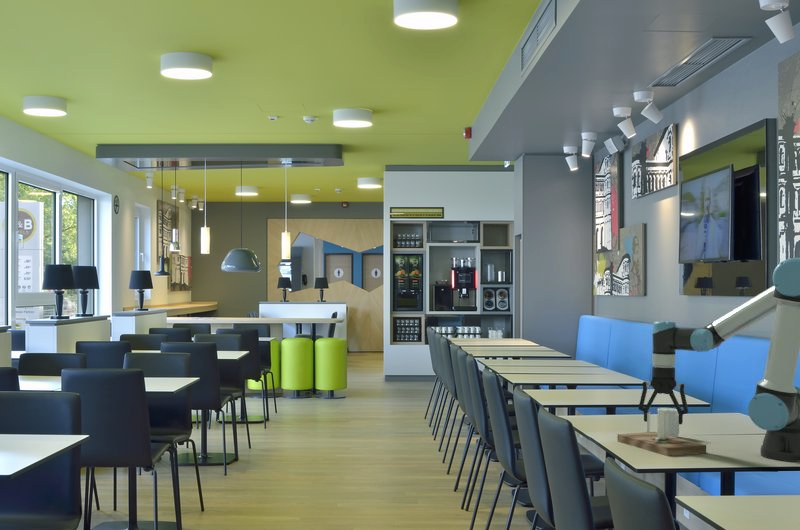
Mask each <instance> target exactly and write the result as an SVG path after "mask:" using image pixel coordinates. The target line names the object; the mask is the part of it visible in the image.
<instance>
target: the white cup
mask: <svg viewBox="0 0 800 530" xmlns="http://www.w3.org/2000/svg"><path fill="white" fill-rule="evenodd" d="M660 409H669V427H668V436H672V437H676V438H679V434H676V415H677V414H678V411H677V409H676V407H658V408H657V411H658V410H660Z"/></svg>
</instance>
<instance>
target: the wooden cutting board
mask: <svg viewBox="0 0 800 530" xmlns="http://www.w3.org/2000/svg"><path fill="white" fill-rule="evenodd" d="M656 438H657V432H656V431H650V432H647V431H646V432H630V433H617V439H616V440H617V442H619V443H622V444H625V445H629V446H633V447H636V448H639V449H642V450H646V451H649V452H653V453H656V454H659V455H664V456H666V455H667V456H666V457H671V456H670V455H672V456H682V455H683V454H686V455H696V453H699V454H707V444H706V445H705V444H702V443H698V442H694V441H691V440H688V439H684V438H681V437H678V438H676V437H672V436H668V438H666V439H660V440H658V441H655V439H656Z"/></svg>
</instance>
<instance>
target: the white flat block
mask: <svg viewBox="0 0 800 530" xmlns="http://www.w3.org/2000/svg"><path fill="white" fill-rule="evenodd" d="M668 427H669V409H660V410H658V409H657V430H656V431H657V438H656V439H655V441H658V440H660V439H666V438H668Z"/></svg>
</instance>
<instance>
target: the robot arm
mask: <svg viewBox="0 0 800 530" xmlns="http://www.w3.org/2000/svg"><path fill="white" fill-rule="evenodd" d="M772 283H773V285H771V287H769V288H767V289H765V290H764V291H762V292H760V293H758V294H756V295H755V296H753V297H752V298H751V299H748V300H747V301H745V302H744V303H742V304H740V305H739V306H736V307H735V308H733V309H731V310H729V312H727V313H725V314H723V315H722V316H720V317H718V318H717V319H715V320H713V321H712V322H710V323H708V324H707V325H706V326H703V327H695V328H694V327H693V328H689V327H677V325H676V322H675V321H669V320H668V321H667V320H656V321H654V322H653V325H652V334H651V336H652V354H651V355H652V356H651V357H652V358H651V359H652V363H651V364H652V368H651V372H652V373H651V377H652V379H651V380H650V381H646V380H645V381H643V382H642V391H641V396H640V400H639V404H638V410H639V411H642V412H643V421H644V423H645V422H646V432H651V411H649V409H650V408H651V406H652V404H653V402H654V400H655V398H656V397H657V394H658V395H659V394H660V395H662V394H664V395H668V396H669V397H670V399H671V401H672V402H673V403H672V404H673V405H674V408H675V409H677V411H678V414H677V415H676V434H678V435H679V434H680V425H683V420H684V419H683V416H684V415H685V414H688V413H689V406H688V403H687V399H686V394H685V387H686V385H685V383H679V382H677V381H676V368H675V366H676V350H677V351H689V352H698V353H701V352H709V351H711V350H713V349H717V348H718V347H720V346H721V344H723V343H724V342H725V341H727V340H729V339H731V338H733V337H734V336H736V335H737V334H739V333H741V332H742V331H744V330H746V329H748V328H749V327H751V326H753V325H755V324H756V323H759V322H760V321H762V320H764V319H766V318H767V317H769V316H770V315H772V314H774V313H775V314H774V315H775V316H774V320H773V324H772V331H771V337H770V340H769V346H768V350H767V351H768V352H767V357H766V363H765V368H764V373H763V374H764V375H763V378H762V379H761V380H759V381H758V382H757V383H756V387H755V391H754V396H753V397H752V398H751V399H750V400H749V403H748V406H747V412H748V413H747V414H748V415H749V416H748V417H749V418H750V420H751V421H752V423H753V424H755V426H756V427H758V428H760V429H762V430H765V431H766V432H765V433H764V434H765V435H764V438H763V441H762V444H761V445H760V456H762V457H764V458H768V459H772V460H777V459H778V460H777V461H785V460H787V461H788V462H800V386H794V382H795V376H796V371H797V366H798V362H799V361H798V360H799V355H800V257H791V258H786V259H785V260H783V261H781V262H780V263H778V264H777V266H775V268H774V270H773V273H772ZM650 386H651V387H652V388H653V389H654V390H653V392H652V394H651V396H650V398H649V399H648V401H647V403H646V404H645V401H646V398H647V391H648V389H649V387H650ZM676 387H677V390H678V391H679V396H680V399H681V403H682V407H681V405H680V404H679V401H678V399H677V397H676V395H675V393H674V389H675V388H676ZM644 405H645V407H644ZM682 408H683V409H682Z"/></svg>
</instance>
